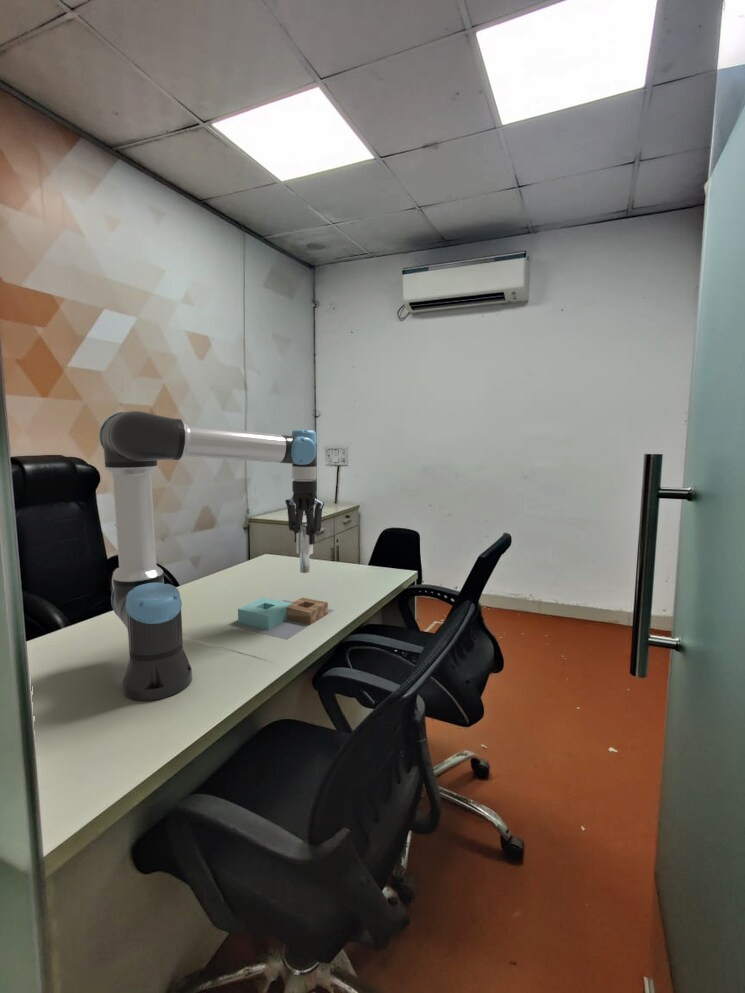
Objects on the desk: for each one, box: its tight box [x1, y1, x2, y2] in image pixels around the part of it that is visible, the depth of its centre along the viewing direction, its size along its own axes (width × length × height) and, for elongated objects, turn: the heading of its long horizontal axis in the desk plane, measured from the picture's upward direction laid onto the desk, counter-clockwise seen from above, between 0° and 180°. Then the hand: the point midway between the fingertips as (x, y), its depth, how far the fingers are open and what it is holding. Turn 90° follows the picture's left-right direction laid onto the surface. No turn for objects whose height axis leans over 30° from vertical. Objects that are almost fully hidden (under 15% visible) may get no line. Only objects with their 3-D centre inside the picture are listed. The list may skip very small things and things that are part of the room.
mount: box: [287, 597, 329, 626], centre depth 156 cm, size 10×10×4 cm
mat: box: [231, 599, 335, 640], centre depth 155 cm, size 26×21×1 cm
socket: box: [237, 597, 292, 630], centre depth 153 cm, size 12×12×4 cm
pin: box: [299, 523, 311, 574], centre depth 153 cm, size 3×3×15 cm
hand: (304, 553), depth 153 cm, fingers closed on pin, 3 cm apart
